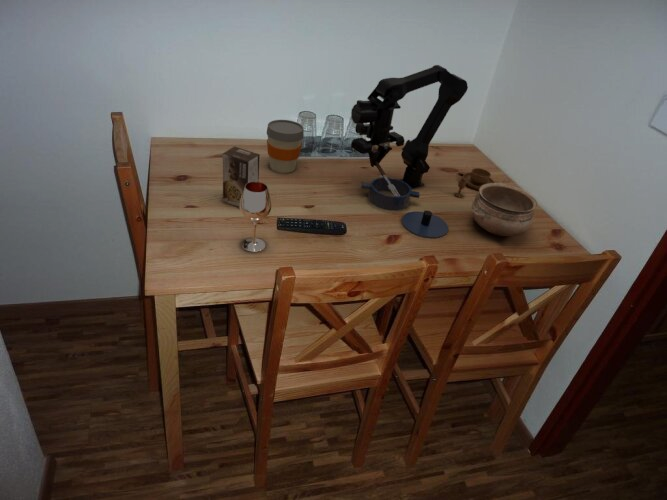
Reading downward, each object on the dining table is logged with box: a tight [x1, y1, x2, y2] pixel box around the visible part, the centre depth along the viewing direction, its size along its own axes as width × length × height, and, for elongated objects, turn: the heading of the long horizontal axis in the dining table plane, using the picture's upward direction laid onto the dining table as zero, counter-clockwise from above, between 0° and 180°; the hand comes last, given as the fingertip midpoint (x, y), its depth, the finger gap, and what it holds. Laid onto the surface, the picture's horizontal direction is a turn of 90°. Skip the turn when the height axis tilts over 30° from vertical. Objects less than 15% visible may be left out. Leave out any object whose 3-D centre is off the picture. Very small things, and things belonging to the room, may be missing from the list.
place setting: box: [454, 167, 496, 198], centre depth 185 cm, size 18×20×6 cm
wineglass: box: [238, 181, 272, 253], centre depth 133 cm, size 8×8×18 cm
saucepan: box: [361, 176, 420, 212], centre depth 167 cm, size 14×19×6 cm
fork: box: [374, 161, 400, 196], centre depth 166 cm, size 15×2×8 cm, turn 38°
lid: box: [401, 210, 449, 239], centre depth 157 cm, size 15×15×5 cm
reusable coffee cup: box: [266, 119, 305, 174], centre depth 175 cm, size 13×12×15 cm
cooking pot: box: [470, 182, 538, 237], centre depth 159 cm, size 25×19×12 cm
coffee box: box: [222, 146, 261, 208], centre depth 152 cm, size 9×6×16 cm
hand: (373, 166), depth 169 cm, fingers closed on fork, 1 cm apart
